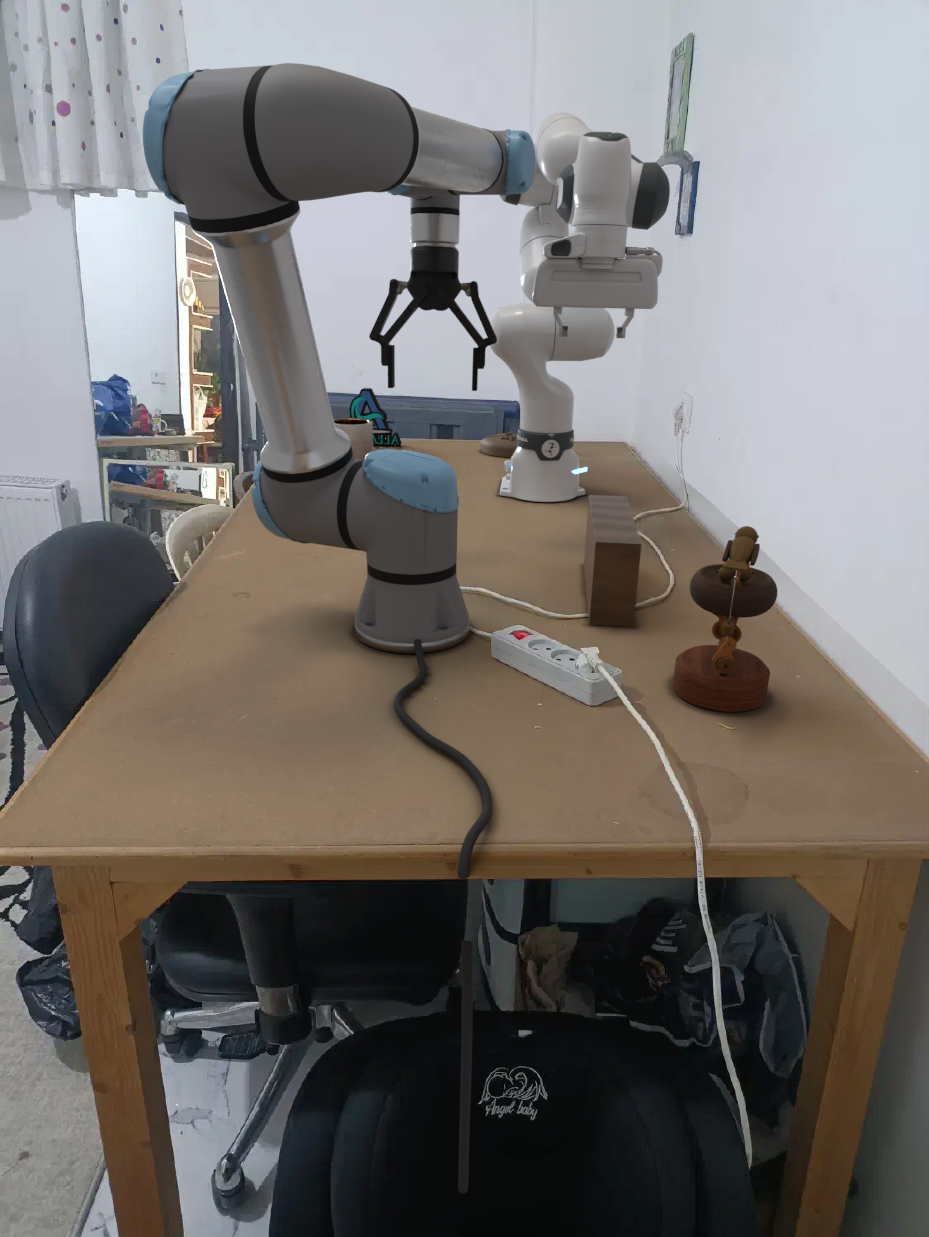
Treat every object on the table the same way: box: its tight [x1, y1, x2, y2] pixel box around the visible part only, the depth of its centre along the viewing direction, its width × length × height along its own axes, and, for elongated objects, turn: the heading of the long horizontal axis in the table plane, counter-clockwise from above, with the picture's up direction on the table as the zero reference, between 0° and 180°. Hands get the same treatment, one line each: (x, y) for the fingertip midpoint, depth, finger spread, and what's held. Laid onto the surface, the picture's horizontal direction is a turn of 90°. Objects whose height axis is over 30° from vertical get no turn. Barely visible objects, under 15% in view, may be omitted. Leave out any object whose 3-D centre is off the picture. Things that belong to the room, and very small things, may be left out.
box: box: [583, 494, 642, 628], centre depth 126 cm, size 26×6×12 cm, turn 174°
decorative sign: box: [348, 387, 402, 447], centre depth 230 cm, size 19×2×15 cm, turn 86°
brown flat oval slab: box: [479, 431, 518, 458], centre depth 221 cm, size 21×28×4 cm
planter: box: [333, 417, 375, 460], centre depth 212 cm, size 11×11×10 cm
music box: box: [672, 525, 778, 713], centre depth 95 cm, size 15×11×20 cm
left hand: (432, 389), depth 137 cm, fingers open, 13 cm apart
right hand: (591, 337), depth 140 cm, fingers open, 8 cm apart
